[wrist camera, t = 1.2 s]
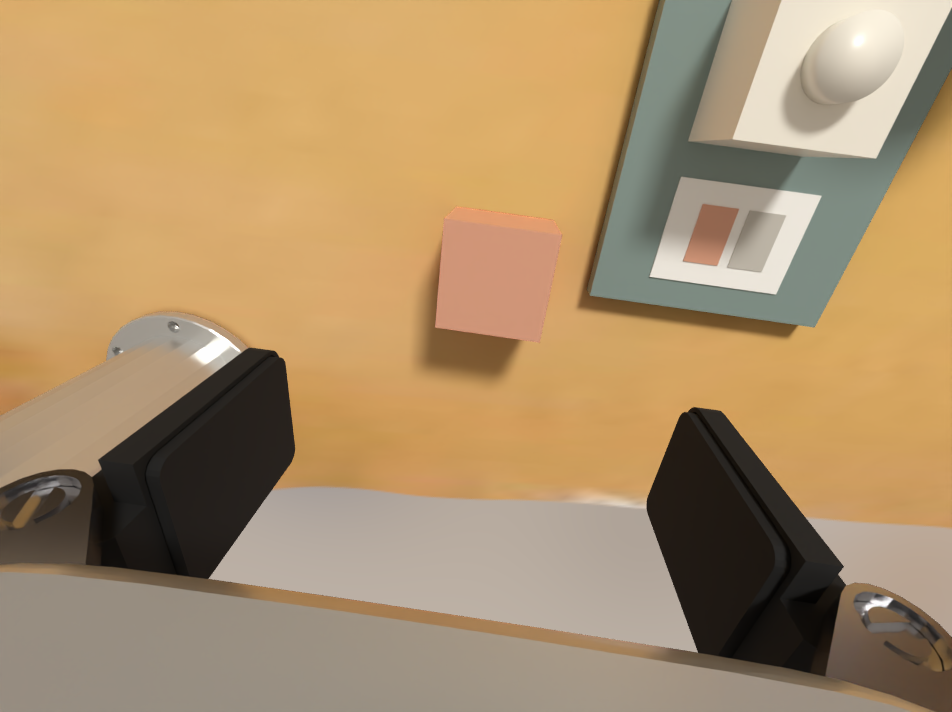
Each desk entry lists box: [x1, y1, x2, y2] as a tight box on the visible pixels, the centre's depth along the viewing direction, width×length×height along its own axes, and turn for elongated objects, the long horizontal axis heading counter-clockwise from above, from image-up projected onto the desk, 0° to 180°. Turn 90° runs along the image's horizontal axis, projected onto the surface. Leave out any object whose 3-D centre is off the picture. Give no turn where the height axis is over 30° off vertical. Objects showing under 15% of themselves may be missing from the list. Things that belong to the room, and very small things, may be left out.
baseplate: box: [587, 0, 952, 327], centre depth 20 cm, size 16×14×7 cm
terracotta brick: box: [435, 207, 562, 343], centre depth 25 cm, size 6×6×5 cm
